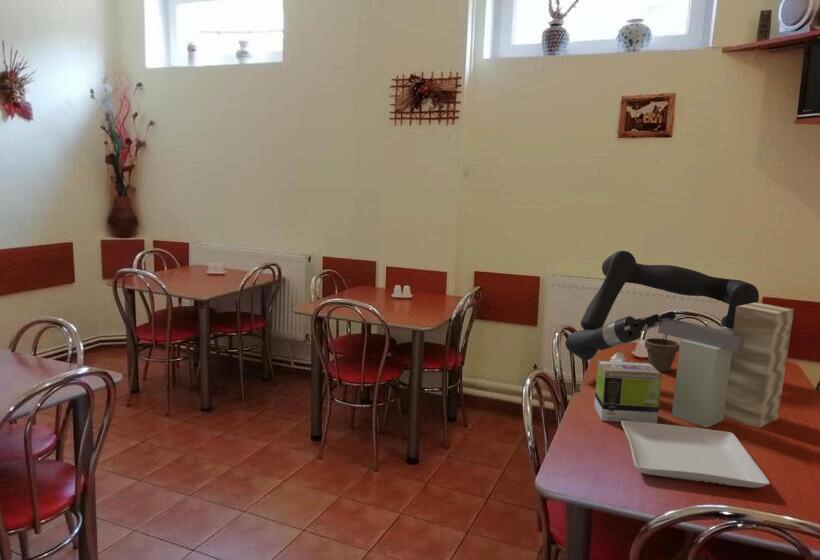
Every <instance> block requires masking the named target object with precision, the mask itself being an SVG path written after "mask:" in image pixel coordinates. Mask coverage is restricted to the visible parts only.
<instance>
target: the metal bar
mask: <svg viewBox="0 0 820 560" xmlns="http://www.w3.org/2000/svg"><path fill="white" fill-rule="evenodd" d="M657 333H658V334H661V335H666V336H671V337H673V338H678V339H681V340H684V339H686V340H690V341H694V342H698V343H702V344H706V345H710V346H714V347H718V348H723V349H727V350H731V351H735V352H737V351H740V350H743V348H744V340H745V335H743V334H738V333H734V332H729V331H724V330H720V329H719V328H715V327H710V326H707V325H702V324H697V323H691V322H688V321H682V320H678V319H676V318H674V319H670V318H664V319H660V321H659V325H658V332H657Z"/></svg>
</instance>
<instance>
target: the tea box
mask: <svg viewBox="0 0 820 560" xmlns="http://www.w3.org/2000/svg"><path fill="white" fill-rule="evenodd" d="M596 365H597V366H596V367H597V370H596V381H595V382H596V384H595V394H594V409H595V411H596V412H598V413H597V415H598V414H599V415H598V416H599V418H600V420H601V421H604V422H618V423H619V422H620V423H621V421H633V422H645V423H656V424H658V420H659V419H658V418H659V417H658V416H659V410H660V409H659V407H660V398H661V385H662V383H661V382H662V373H661V371H658V370H657V369H656V368H655V367H653V366H652V365H651V363H649V362H636V361H635V362H634V361H633V362H631V361H630V362H629V361H627V362H617V361H610V360H598V361H597V364H596Z"/></svg>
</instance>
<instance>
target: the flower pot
mask: <svg viewBox="0 0 820 560" xmlns="http://www.w3.org/2000/svg"><path fill="white" fill-rule="evenodd" d="M644 348H646V350H647V351H646V352H647V357H648V358H647V359H648V363H651V365H652V366H653V367H655V368H656V369H657V370H658V371H659V372H662V373H663V372H669V371H670V370H671V368H672V366H673V362H674V359H675V357H676V355H677V353H679V349H680V342H677V341H675V340H671V339H666V338H661V337H660V338H658V337H657V338H656V337H655V338H654V337H651V338H650V337H649V338H646V339H645V340H644Z"/></svg>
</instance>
